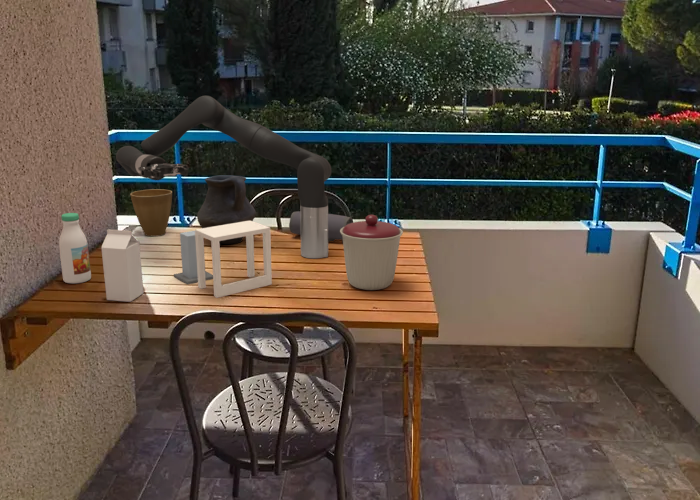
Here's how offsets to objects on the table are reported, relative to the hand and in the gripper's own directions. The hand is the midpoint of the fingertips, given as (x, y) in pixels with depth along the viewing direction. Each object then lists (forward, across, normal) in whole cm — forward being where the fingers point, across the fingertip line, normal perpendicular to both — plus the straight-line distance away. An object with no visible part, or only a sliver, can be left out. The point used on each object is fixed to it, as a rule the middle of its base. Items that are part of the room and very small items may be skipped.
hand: (173, 173), depth 191 cm
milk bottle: (-8, -29, +30) cm, 43 cm away
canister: (+50, +36, +30) cm, 69 cm away
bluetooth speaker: (0, +56, +30) cm, 64 cm away
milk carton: (+15, -23, +30) cm, 41 cm away
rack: (+26, +5, +30) cm, 40 cm away
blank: (+12, -1, +29) cm, 31 cm away
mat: (+12, -1, +30) cm, 32 cm away
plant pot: (-45, +11, +30) cm, 55 cm away
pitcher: (-18, +28, +30) cm, 45 cm away
